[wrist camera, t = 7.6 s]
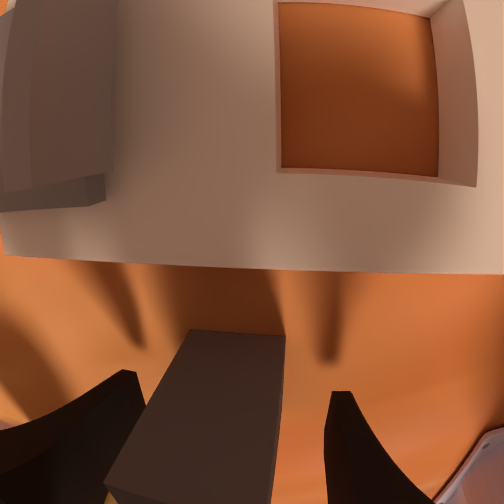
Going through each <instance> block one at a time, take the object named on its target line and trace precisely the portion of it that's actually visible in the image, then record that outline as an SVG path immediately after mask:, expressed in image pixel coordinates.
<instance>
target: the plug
mask: <svg viewBox="0 0 504 504" xmlns="http://www.w3.org/2000/svg"><path fill="white" fill-rule="evenodd" d="M285 343H286V336H277V335H258V334H243V333H229V332H217V331H205V330H195V329H190V331H189V333H188V335H187V336H186V338H185V340H184V341H183V343H182V345H181V347H180V348H179V350H178V352H177V353H176V355H175V357H174V359H173V360H172V362H171V364H170V365H169V367H168V369H167V371H166V372H165V374H164V376H163V378H162V379H161V381H160V383H159V385H158V386H157V388H156V390H155V391H154V393H153V395H152V397H151V398H150V400H149V402H148V404H147V405H146V407H145V409H144V411H143V412H142V414H141V416H140V418H139V419H138V421H137V423H136V425H135V427H134V428H133V430H132V432H131V434H130V435H129V437H128V439H127V441H126V442H125V444H124V446H123V448H122V450H121V451H120V453H119V455H118V457H117V458H116V460H115V462H114V464H113V466H112V467H111V469H110V471H109V473H108V474H107V476H106V478H105V480H104V482H103V483H104V485H105V486H106V488H107V489H108V491H109V492H110V493H111V495H112V496H113V497H114V499H115V500H116V501H117V503H118V504H271V497H272V489H273V481H274V474H275V465H276V457H277V449H278V440H279V431H280V421H281V412H282V397H283V380H284V363H285Z"/></svg>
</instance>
